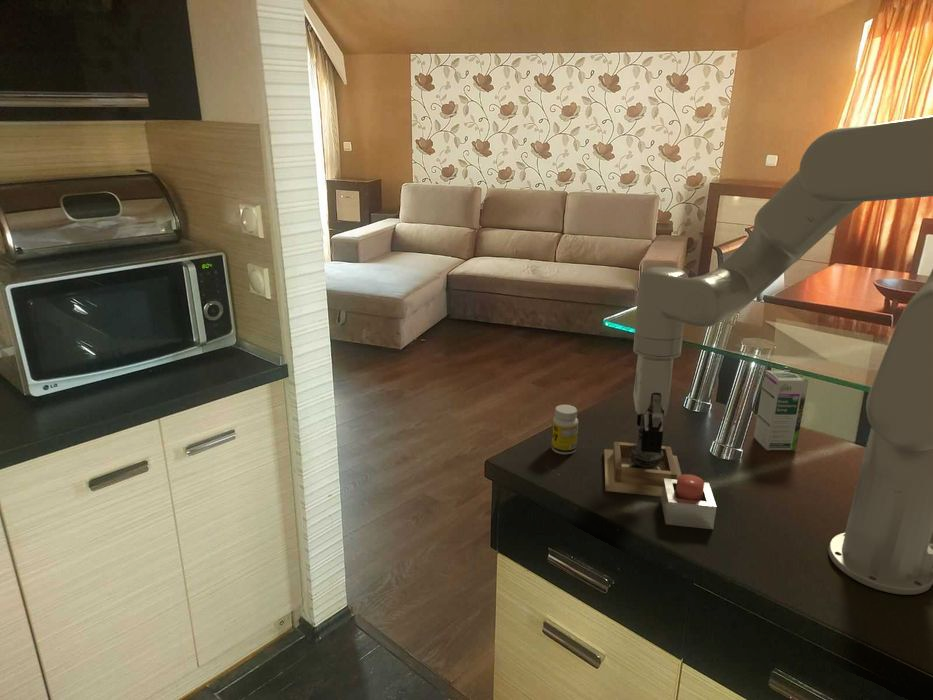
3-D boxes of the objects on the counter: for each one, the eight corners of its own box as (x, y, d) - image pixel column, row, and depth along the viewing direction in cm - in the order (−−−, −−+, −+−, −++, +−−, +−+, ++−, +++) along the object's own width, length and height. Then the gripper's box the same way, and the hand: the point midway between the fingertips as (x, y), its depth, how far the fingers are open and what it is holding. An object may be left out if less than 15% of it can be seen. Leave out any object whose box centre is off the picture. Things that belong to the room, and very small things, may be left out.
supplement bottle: (549, 443, 125) (551, 403, 122) (573, 443, 125) (576, 403, 122) (553, 455, 120) (555, 414, 117) (578, 455, 120) (581, 414, 118)
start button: (699, 492, 103) (702, 475, 102) (703, 506, 99) (706, 489, 98) (673, 489, 104) (675, 473, 103) (676, 503, 100) (679, 486, 99)
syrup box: (766, 451, 122) (779, 380, 117) (752, 436, 128) (764, 368, 123) (796, 451, 122) (810, 380, 118) (781, 436, 128) (794, 368, 123)
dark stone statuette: (622, 473, 112) (628, 410, 108) (631, 458, 117) (637, 398, 113) (657, 482, 110) (664, 418, 106) (664, 466, 114) (671, 404, 110)
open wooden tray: (676, 460, 119) (678, 443, 117) (685, 498, 107) (688, 480, 105) (604, 453, 121) (605, 437, 120) (605, 490, 109) (607, 472, 108)
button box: (705, 504, 105) (708, 482, 104) (713, 529, 99) (716, 506, 97) (661, 499, 106) (663, 478, 105) (665, 524, 100) (668, 501, 99)
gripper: (630, 327, 114) (623, 415, 120) (637, 360, 98) (628, 460, 104) (675, 329, 113) (665, 418, 118) (688, 363, 97) (677, 464, 102)
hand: (648, 438), depth 111 cm, fingers open, 9 cm apart
